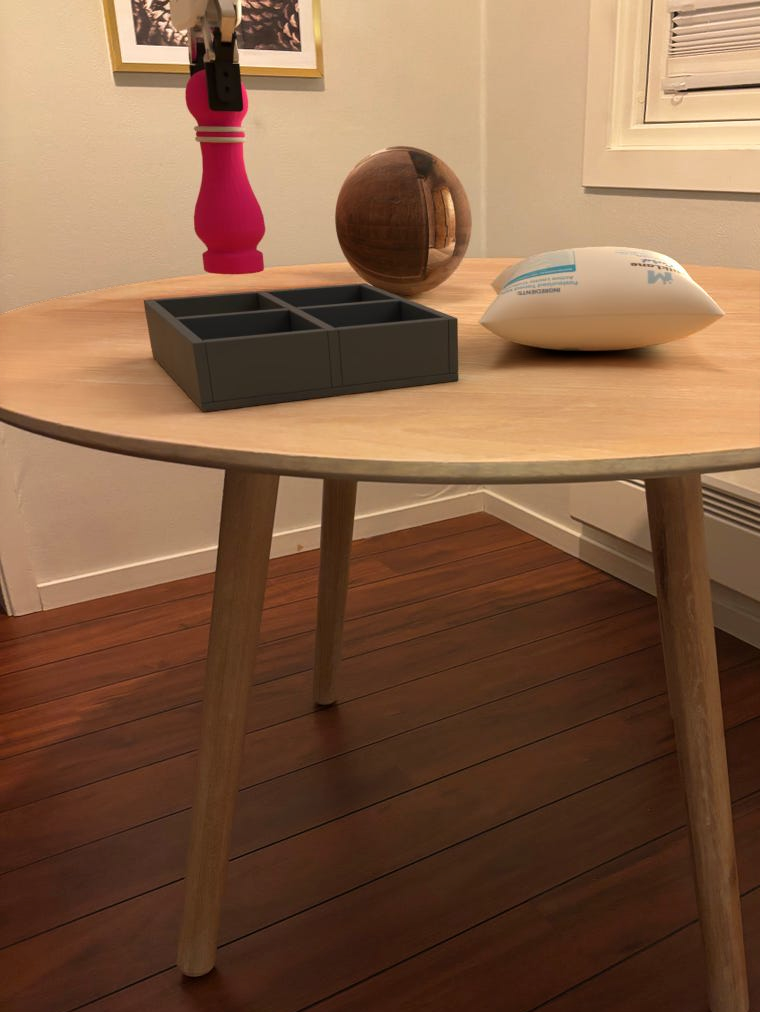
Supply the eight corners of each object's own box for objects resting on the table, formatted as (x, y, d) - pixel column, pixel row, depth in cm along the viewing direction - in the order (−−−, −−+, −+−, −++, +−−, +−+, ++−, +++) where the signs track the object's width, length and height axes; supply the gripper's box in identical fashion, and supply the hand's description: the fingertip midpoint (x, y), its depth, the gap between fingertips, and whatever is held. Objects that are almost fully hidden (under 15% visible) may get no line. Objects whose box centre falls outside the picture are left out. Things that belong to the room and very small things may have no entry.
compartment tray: (202, 412, 64) (192, 343, 62) (152, 356, 80) (143, 299, 77) (458, 380, 72) (458, 318, 70) (368, 335, 87) (365, 283, 85)
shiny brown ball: (330, 287, 112) (319, 145, 105) (451, 281, 116) (449, 144, 109) (354, 308, 100) (343, 148, 93) (489, 300, 104) (489, 146, 96)
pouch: (491, 236, 89) (479, 254, 71) (694, 243, 89) (733, 263, 71) (488, 323, 93) (476, 361, 75) (683, 331, 92) (718, 371, 74)
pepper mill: (184, 271, 100) (156, 48, 90) (236, 264, 105) (215, 53, 96) (232, 277, 96) (208, 46, 87) (283, 270, 102) (266, 51, 92)
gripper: (136, -106, 90) (163, 110, 99) (171, -144, 77) (198, 110, 85) (215, -97, 93) (234, 112, 102) (262, -132, 80) (280, 112, 88)
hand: (218, 109), depth 94 cm, fingers closed on pepper mill, 6 cm apart
